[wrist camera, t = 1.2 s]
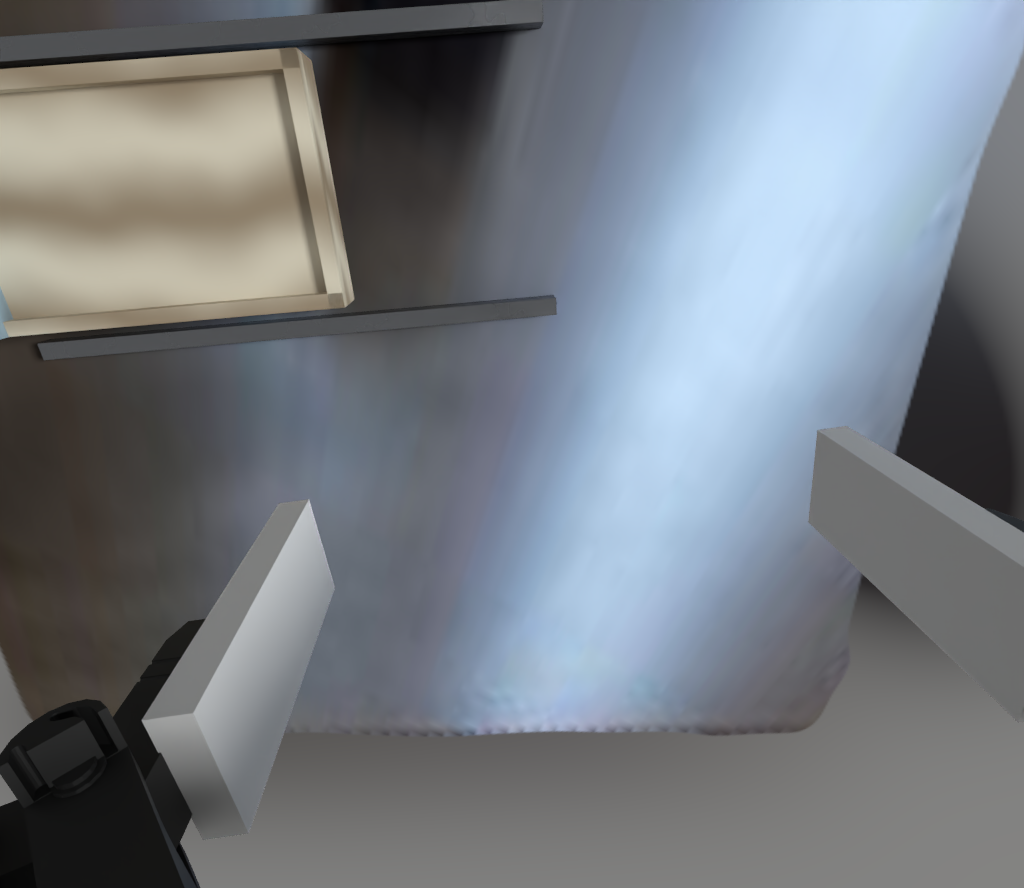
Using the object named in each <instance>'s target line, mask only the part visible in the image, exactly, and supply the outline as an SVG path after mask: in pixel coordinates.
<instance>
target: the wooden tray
mask: <svg viewBox="0 0 1024 888" xmlns="http://www.w3.org/2000/svg"><path fill="white" fill-rule="evenodd" d="M353 300H354V294H353V288H352V283H351V277H350V272H349V266H348V261H347V255H346V249H345V244H344V238H343V233H342V227H341V222H340V216H339V211H338V205H337V199H336V194H335V188H334V183H333V177H332V172H331V166H330V161H329V155H328V149H327V144H326V138H325V133H324V127H323V122H322V116H321V111H320V105H319V100H318V94H317V88H316V83H315V77H314V72H313V66H312V61H311V60H310V59H309V58H308V57H307V56H306V55H304V54H303V53H302V52H301V51H300V50H299V49H298V48H296V47H295V48H281V49H267V50H254V51H240V52H227V53H213V54H200V55H186V56H172V57H159V58H145V59H132V60H118V61H105V62H91V63H77V64H64V65H50V66H37V67H23V68H10V69H0V339H4V338H7V337H14V336H26V335H37V334H48V333H60V332H71V331H83V330H94V329H106V328H117V327H128V326H140V325H151V324H163V323H174V322H185V321H197V320H208V319H220V318H231V317H243V316H254V315H265V314H277V313H288V312H300V311H311V310H322V309H334V308H345V307H346V306H347V305H349V304H350V303H351V302H352V301H353Z"/></svg>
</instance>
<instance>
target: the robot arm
mask: <svg viewBox="0 0 1024 888" xmlns="http://www.w3.org/2000/svg"><path fill="white" fill-rule="evenodd" d="M809 523H810V524H811V525H812V526H813V527H814V528H815V529H816V530H817V531H818V532H819V533H820V534H821V535H822V536H823V537H825V538H826V539H827V540H828V541H829V542H830V543H831V544H832V545H833V546H834V547H835V548H836V549H837V550H838V551H839V552H840V553H841V554H842V555H843V556H844V557H845V558H846V559H848V560H849V561H850V562H851V563H852V564H853V565H854V566H855V567H856V568H857V569H858V570H859V571H860V572H861V573H862V574H863V575H864V576H865V577H866V578H867V579H868V580H870V581H871V582H872V583H873V584H874V585H875V586H876V587H877V588H878V589H879V590H880V591H881V592H882V593H883V594H884V595H885V596H886V597H887V598H888V599H890V601H892V602H893V603H894V604H895V605H896V606H897V607H898V608H899V609H900V610H901V611H902V612H903V613H904V614H905V615H906V616H907V617H908V618H909V619H910V620H911V621H912V622H914V623H915V624H916V625H917V626H918V627H919V628H920V629H921V630H922V631H923V632H924V633H925V634H926V635H927V636H928V637H929V638H930V639H931V640H932V641H933V642H935V643H936V644H937V645H938V646H939V647H940V648H941V649H942V650H943V651H944V652H945V653H946V654H947V655H948V656H949V657H950V658H951V659H952V660H953V661H954V662H956V664H957V665H959V666H960V667H961V668H962V669H963V670H964V671H965V672H966V673H967V674H968V675H969V676H970V677H971V678H972V679H973V680H974V681H975V682H976V683H977V684H978V685H979V686H981V687H982V688H983V689H984V690H985V691H986V692H987V693H988V694H989V695H990V696H991V697H992V698H993V699H994V700H995V701H996V702H997V703H998V704H1000V706H1001V707H1003V708H1004V709H1005V710H1006V711H1007V712H1008V713H1009V714H1010V715H1011V716H1012V717H1013V718H1014V719H1015V720H1016V721H1017V722H1024V521H1022V520H1020V519H1017V518H1015V517H1012V516H1009V515H1006V514H1003V513H1001V512H998V511H995V510H992V509H983V508H982V507H980V506H979V505H977V504H975V503H974V502H972V501H970V500H969V499H967V498H965V497H964V496H962V495H960V494H959V493H957V492H955V491H954V490H952V489H950V488H949V487H947V486H945V485H944V484H942V483H940V482H939V481H937V480H935V479H934V478H932V477H930V476H929V475H927V474H925V473H924V472H922V471H920V470H919V469H917V468H915V467H914V466H912V465H910V464H909V463H907V462H906V461H904V460H902V459H901V458H899V457H897V456H896V455H894V454H892V453H891V452H889V451H887V450H886V449H884V448H882V447H881V446H879V445H877V444H876V443H874V442H872V441H871V440H869V439H867V438H866V437H864V436H862V435H861V434H859V433H857V432H856V431H854V430H852V429H851V428H849V427H847V426H844V427H837V428H829V429H822V430H817V440H816V450H815V461H814V471H813V481H812V491H811V502H810V512H809ZM334 589H335V586H334V583H333V580H332V576H331V573H330V569H329V566H328V563H327V559H326V556H325V552H324V549H323V546H322V542H321V539H320V535H319V532H318V529H317V525H316V522H315V519H314V515H313V512H312V508H311V505H310V502H309V500H301V501H294V502H287V503H279V504H278V506H277V507H276V509H275V510H274V512H273V514H272V515H271V517H270V518H269V520H268V521H267V523H266V525H265V526H264V528H263V529H262V531H261V533H260V534H259V536H258V537H257V539H256V540H255V542H254V544H253V545H252V547H251V548H250V550H249V551H248V553H247V555H246V556H245V558H244V559H243V561H242V563H241V564H240V566H239V567H238V569H237V570H236V572H235V574H234V575H233V577H232V578H231V580H230V581H229V583H228V585H227V586H226V588H225V589H224V591H223V593H222V594H221V596H220V597H219V599H218V600H217V602H216V604H215V605H214V607H213V608H212V610H211V611H210V613H209V615H208V616H207V618H206V619H202V620H195V621H188V622H187V623H186V624H185V625H184V626H182V627H181V628H180V629H179V630H178V631H177V632H175V633H174V634H173V635H172V636H171V637H170V638H168V639H167V640H166V641H165V643H164V644H163V646H162V647H161V649H160V650H159V651H158V653H157V654H156V656H155V657H154V659H153V660H152V665H149V666H148V667H147V669H146V670H145V672H144V673H143V675H142V676H141V677H140V679H141V680H140V682H137V683H136V685H135V686H134V688H133V689H132V690H131V692H130V693H129V695H128V696H127V698H126V699H125V701H124V702H123V703H122V705H121V706H120V708H119V709H118V711H117V712H116V714H115V715H114V716H113V718H112V716H111V714H110V712H109V710H108V708H107V707H106V706H105V705H104V704H103V703H102V702H101V701H98V700H88V699H86V700H81V701H76V702H72V703H68V704H65V705H63V706H61V707H59V708H56V709H54V710H52V711H49V712H47V713H46V714H44V715H43V716H41V717H39V718H38V719H36V720H35V721H33V722H31V723H30V724H28V725H27V726H26V727H25V728H24V729H23V730H21V731H20V732H19V733H18V734H17V735H16V736H15V737H14V738H13V739H11V741H10V742H9V743H8V745H7V746H6V747H5V749H4V750H3V751H2V753H1V754H0V774H1V775H2V777H3V779H4V780H5V782H6V783H7V784H8V786H9V787H10V789H11V790H12V791H13V793H14V795H15V796H16V798H17V799H18V800H16V801H13V802H11V803H8V804H5V805H3V806H0V888H200V886H199V883H198V881H197V879H196V876H195V874H194V871H193V869H192V867H191V865H190V862H189V860H188V857H187V855H186V853H185V851H184V849H183V847H182V845H181V844H180V840H181V838H182V836H183V834H184V832H185V829H186V827H187V825H188V823H189V821H190V819H191V818H192V820H193V822H194V824H195V825H196V828H197V829H198V831H199V833H200V835H201V837H202V839H203V840H206V839H213V838H220V837H227V836H234V835H241V834H248V833H249V831H250V828H251V825H252V822H253V819H254V817H255V814H256V811H257V808H258V805H259V802H260V800H261V797H262V794H263V791H264V788H265V785H266V783H267V780H268V777H269V774H270V771H271V768H272V765H273V763H274V760H275V757H276V754H277V751H278V748H279V745H280V742H281V740H282V737H283V734H284V731H285V728H286V726H287V723H288V720H289V717H290V714H291V711H292V708H293V706H294V703H295V700H296V697H297V694H298V691H299V689H300V686H301V683H302V680H303V677H304V674H305V671H306V669H307V666H308V663H309V660H310V657H311V654H312V652H313V649H314V646H315V643H316V640H317V637H318V634H319V632H320V629H321V626H322V623H323V620H324V617H325V615H326V612H327V609H328V606H329V603H330V600H331V597H332V595H333V592H334Z"/></svg>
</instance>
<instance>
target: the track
mask: <svg viewBox="0 0 1024 888" xmlns="http://www.w3.org/2000/svg"><path fill="white" fill-rule="evenodd" d="M542 24H543V2H542V0H508V1H494V2H480V3H466V4H452V5H438V6H424V7H410V8H397V9H383V10H369V11H355V12H341V13H327V14H313V15H299V16H285V17H272V18H258V19H244V20H230V21H216V22H202V23H188V24H174V25H160V26H147V27H133V28H119V29H105V30H91V31H77V32H63V33H49V34H36V35H22V36H8V37H0V68H6V67H19V66H33V65H46V64H60V63H74V62H87V61H101V60H114V59H128V58H142V57H155V56H169V55H182V54H196V53H209V52H223V51H237V50H250V49H264V48H277V47H291V46H305V45H318V44H332V43H345V42H359V41H372V40H386V39H400V38H413V37H427V36H440V35H454V34H468V33H481V32H495V31H508V30H522V29H535V28H541V26H542ZM546 315H557V313H556V298H555V297H554V295H549V296H538V297H526V298H515V299H503V300H492V301H481V302H469V303H458V304H447V305H435V306H424V307H412V308H401V309H390V310H378V311H367V312H356V313H344V314H333V315H321V316H310V317H299V318H287V319H276V320H265V321H253V322H242V323H230V324H219V325H208V326H196V327H185V328H174V329H162V330H151V331H139V332H128V333H117V334H105V335H94V336H83V337H71V338H60V339H50V340H47V341H44V342H41V343H38V347H39V349H40V352H41V354H42V357H43V359H44V360H52V359H63V358H74V357H85V356H97V355H108V354H119V353H130V352H141V351H153V350H164V349H175V348H186V347H198V346H209V345H220V344H231V343H243V342H254V341H265V340H276V339H288V338H299V337H310V336H321V335H333V334H344V333H355V332H366V331H377V330H389V329H400V328H411V327H422V326H434V325H445V324H456V323H467V322H479V321H490V320H501V319H512V318H524V317H535V316H546Z"/></svg>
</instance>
